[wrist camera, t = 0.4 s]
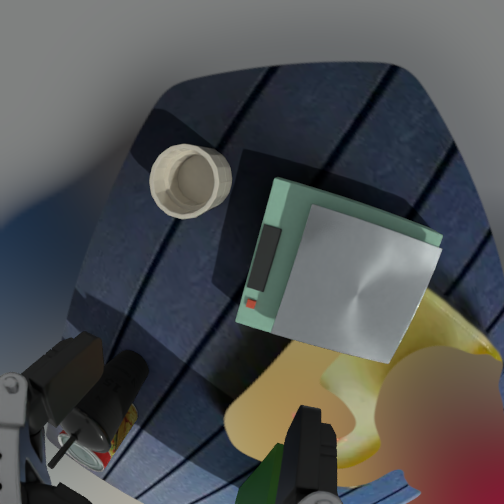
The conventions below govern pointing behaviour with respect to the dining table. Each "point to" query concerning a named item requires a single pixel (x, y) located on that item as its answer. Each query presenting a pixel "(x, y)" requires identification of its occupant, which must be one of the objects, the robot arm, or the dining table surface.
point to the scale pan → (354, 285)
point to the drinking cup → (104, 405)
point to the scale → (288, 239)
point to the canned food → (96, 459)
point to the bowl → (189, 180)
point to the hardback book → (263, 480)
